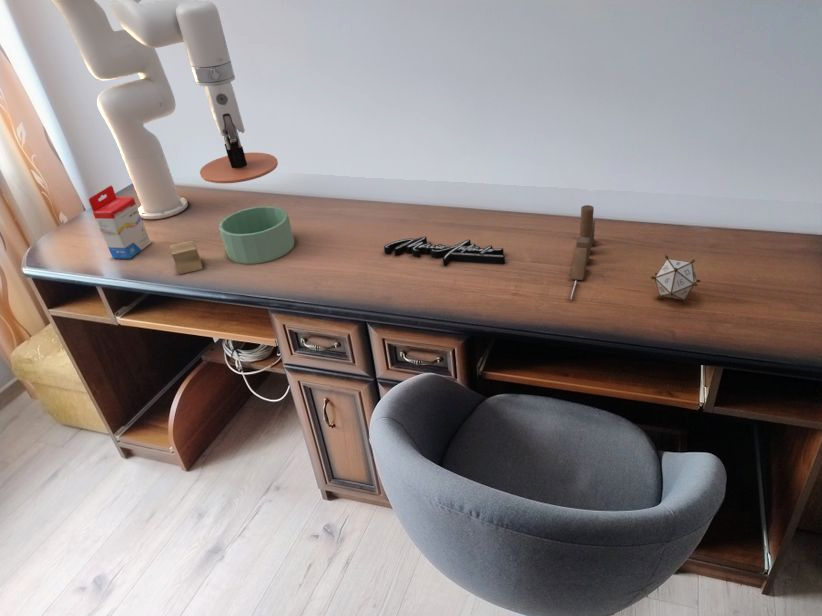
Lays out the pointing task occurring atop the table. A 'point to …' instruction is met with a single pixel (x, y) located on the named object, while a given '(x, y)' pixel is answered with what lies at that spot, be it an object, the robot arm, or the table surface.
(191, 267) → the block
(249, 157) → the lid
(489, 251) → the nameplate
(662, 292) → the game die
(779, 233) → the table surface
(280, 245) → the green round container
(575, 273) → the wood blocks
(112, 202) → the ink box
